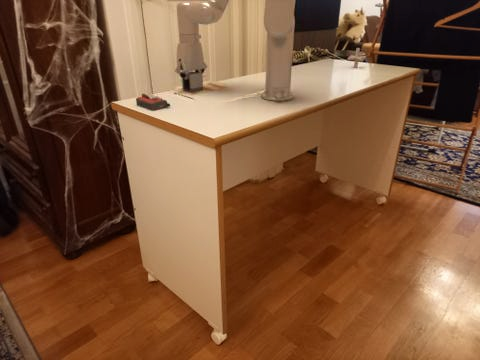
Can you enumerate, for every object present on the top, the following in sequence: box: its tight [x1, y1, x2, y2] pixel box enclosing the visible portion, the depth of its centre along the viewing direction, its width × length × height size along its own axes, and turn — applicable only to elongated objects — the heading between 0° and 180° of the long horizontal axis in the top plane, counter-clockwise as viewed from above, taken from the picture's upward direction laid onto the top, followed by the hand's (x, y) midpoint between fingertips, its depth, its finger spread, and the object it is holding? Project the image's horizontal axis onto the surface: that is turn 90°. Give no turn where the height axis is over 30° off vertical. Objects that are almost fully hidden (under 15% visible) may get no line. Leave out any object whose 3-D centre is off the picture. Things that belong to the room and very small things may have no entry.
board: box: [173, 81, 234, 100], centre depth 144 cm, size 22×12×2 cm, turn 134°
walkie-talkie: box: [135, 92, 171, 112], centre depth 127 cm, size 9×4×20 cm
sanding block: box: [181, 70, 204, 92], centre depth 139 cm, size 5×7×6 cm
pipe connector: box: [347, 47, 367, 69], centre depth 187 cm, size 10×10×10 cm
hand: (192, 87), depth 140 cm, fingers closed on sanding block, 5 cm apart
